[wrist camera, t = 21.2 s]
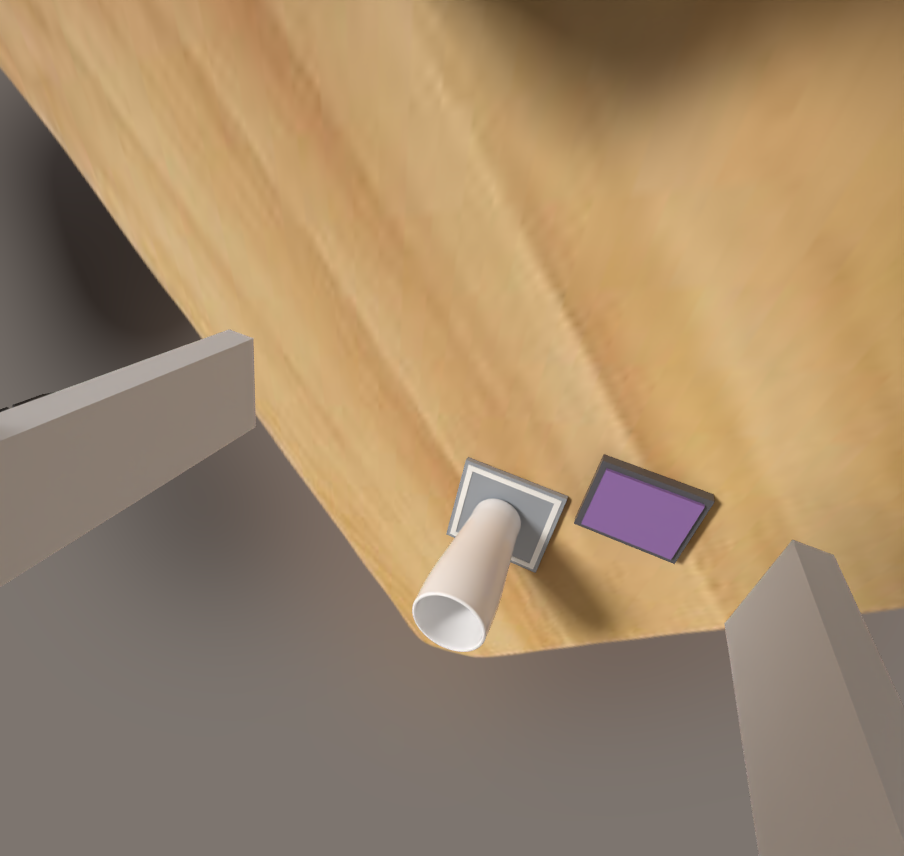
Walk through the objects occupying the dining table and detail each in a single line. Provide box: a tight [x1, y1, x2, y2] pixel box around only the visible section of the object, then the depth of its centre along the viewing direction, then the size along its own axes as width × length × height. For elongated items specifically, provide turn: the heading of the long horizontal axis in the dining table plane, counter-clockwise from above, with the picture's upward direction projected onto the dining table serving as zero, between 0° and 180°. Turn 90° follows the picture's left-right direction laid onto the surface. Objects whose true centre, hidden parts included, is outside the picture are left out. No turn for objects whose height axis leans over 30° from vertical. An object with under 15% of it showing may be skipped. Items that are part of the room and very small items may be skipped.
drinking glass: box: [412, 498, 521, 652], centre depth 46 cm, size 7×7×15 cm
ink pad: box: [574, 455, 715, 564], centre depth 45 cm, size 10×8×2 cm
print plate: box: [447, 457, 568, 573], centre depth 52 cm, size 11×11×1 cm
